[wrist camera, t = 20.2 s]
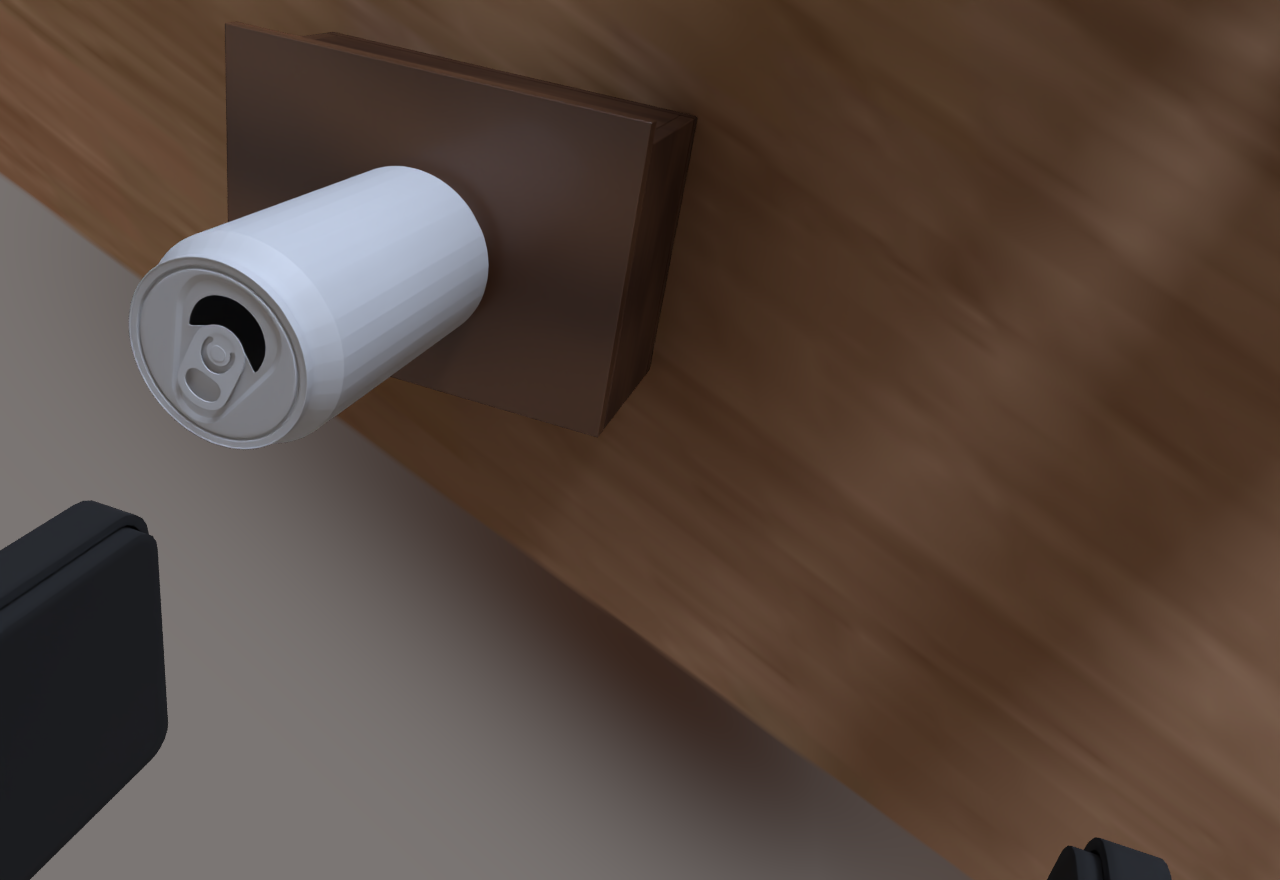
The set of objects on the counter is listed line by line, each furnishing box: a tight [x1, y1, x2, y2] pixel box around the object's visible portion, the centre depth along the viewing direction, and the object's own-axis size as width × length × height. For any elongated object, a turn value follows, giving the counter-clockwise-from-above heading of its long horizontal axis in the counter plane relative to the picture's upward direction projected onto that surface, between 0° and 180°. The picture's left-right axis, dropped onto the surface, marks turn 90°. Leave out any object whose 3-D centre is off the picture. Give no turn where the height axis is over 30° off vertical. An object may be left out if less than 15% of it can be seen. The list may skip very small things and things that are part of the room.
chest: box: [300, 32, 697, 429], centre depth 42 cm, size 11×16×7 cm
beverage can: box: [129, 166, 489, 450], centre depth 34 cm, size 6×6×12 cm
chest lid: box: [225, 22, 657, 437], centre depth 39 cm, size 12×16×1 cm
